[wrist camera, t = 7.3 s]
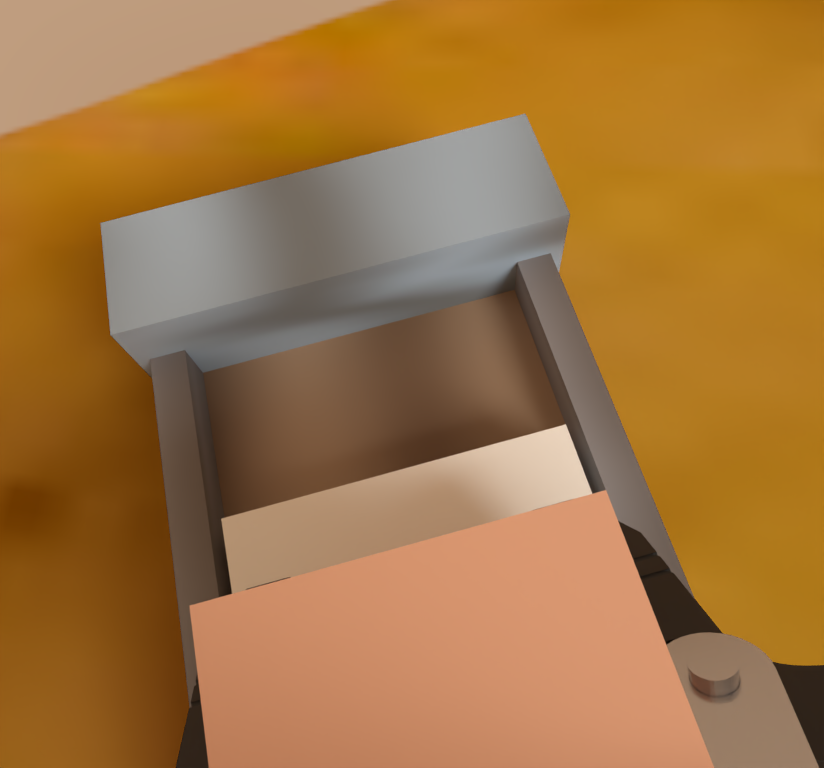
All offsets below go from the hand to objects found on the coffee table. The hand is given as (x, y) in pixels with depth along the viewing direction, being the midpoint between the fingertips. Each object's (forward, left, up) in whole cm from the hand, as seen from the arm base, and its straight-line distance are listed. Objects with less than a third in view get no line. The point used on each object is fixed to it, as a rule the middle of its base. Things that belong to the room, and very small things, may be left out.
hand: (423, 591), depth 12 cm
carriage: (0, +2, -3) cm, 3 cm away
